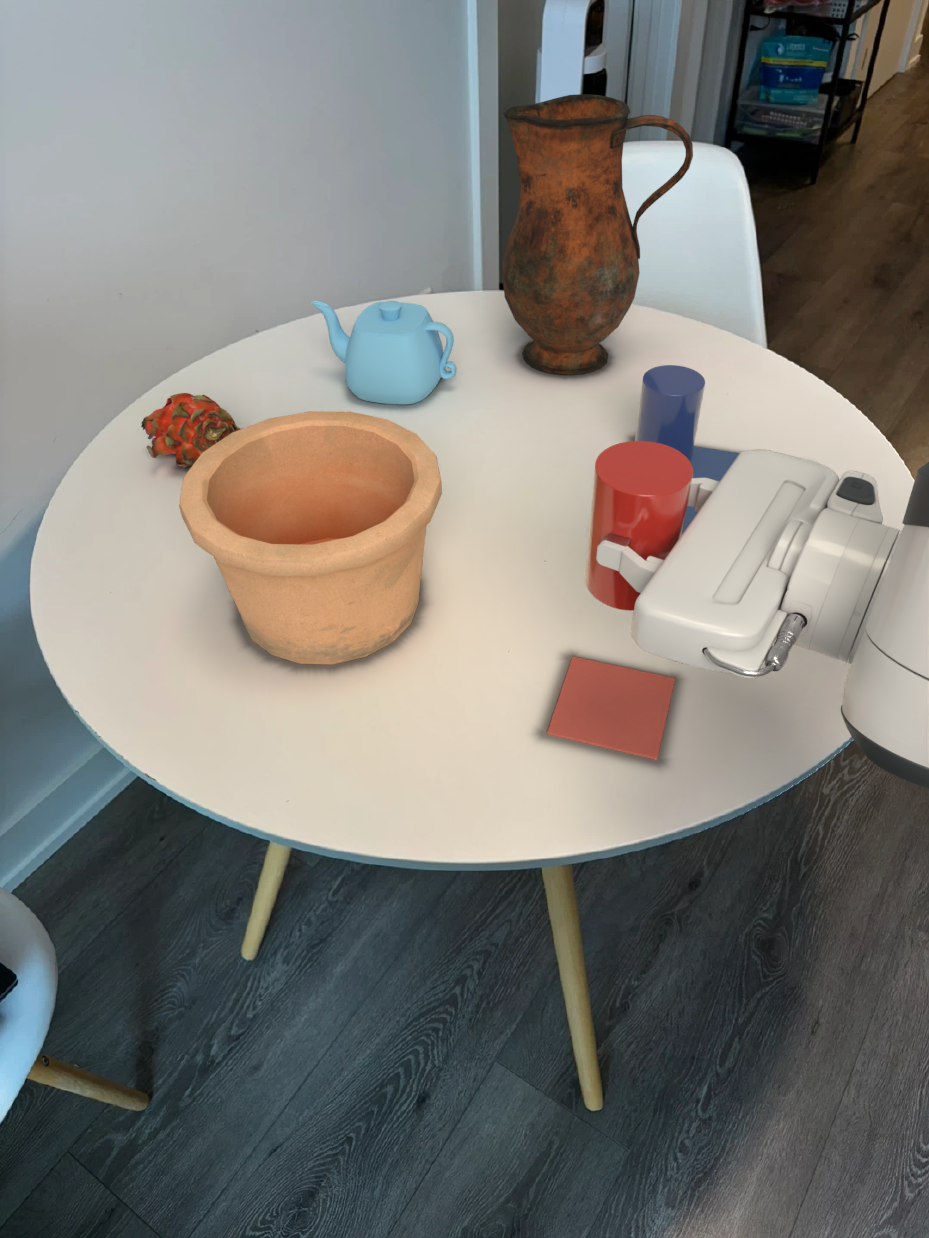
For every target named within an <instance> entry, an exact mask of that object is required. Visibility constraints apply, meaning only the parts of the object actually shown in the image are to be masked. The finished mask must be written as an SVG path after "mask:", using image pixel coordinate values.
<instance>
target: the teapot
mask: <svg viewBox="0 0 929 1238" xmlns="http://www.w3.org/2000/svg"><path fill="white" fill-rule="evenodd" d="M310 303H311V305H312V306H314V307H315V309H317V310H318V311H319V312H320V313H321V314H322V316H323V318H324V320H325V323H326V327H327V331H328V337H329V343H330V346H331V349H332V351H333V353H334V355H335V356H336V357H337V358H338V359H339V360H340V361H341V362H342V363H344V377H345V383H346V385H347V387H348V388H349V390H350V391H351V392H352V393H353V395H354V396H355V397H356V398H358V399H359V400H362V401H367V402H372V403H378V404H385V405H413V404H416V403H419V402H421V401H423V400H424V399H425V398H427V397H428V396H429V395H430V394H431V393H432V392H433V391H434V390H435V388H436V387H437V385H438V384H439V381H440V380H441V378H442V379H444V380H450V379H453V378H454V377H455V376H456V375H457V373H458V372H457V371H458V369H457V365H456V364H455V362H453V361H448V360H449V358H450V355H451V353H452V350H453V347H454V342H455V341H454V340H455V339H454V337H455V336H454V333H453V331H452V330H451V329H450V327H449V326H447V325H446V324H444V323H442V322H439V321H434V320H433V318H432V316H431V314H430V313H429V311H428V309H427V308H426V307H425V306H423V305H422V304H418V303H412V302H401V301H397V300H385V301H377V302H374V303H371V304H370V305H368V306H367V307H366V308H364V309H363V310H362V311H361V312H360V313H359V314H358V316H357V318H356V319H355V322H354V324H353V327H352V330H351V333H350V334H349V335H348V334H347V333H346V332H345V331H344V329H343V327H342V325H341V322H340V319H339V316H338V315H337V313H336V311H335V310H334V308H333V307H332V306H331V305H330V304H328V303H325V302H323V301H319V300H311V301H310ZM439 333H440V334H442V335H443V336H444V337H445V339H446V343H445V347H443V343H442V340H441V336H440V334H439ZM446 368H448V369H450V370H447V369H446Z"/></svg>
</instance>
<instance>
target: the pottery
mask: <svg viewBox="0 0 929 1238" xmlns="http://www.w3.org/2000/svg"><path fill="white" fill-rule="evenodd" d="M442 484H443V483H442V477H441V473H440V468H439V462H438V457H437V455H436V454H435V452H434V451H432V449H431V448H430V447H429V446H428V445H427V444H426V442H425V441H424V440H423V439H422V438H421V437H420V436H419V435H418V434H417V433H416V432H414V431H412V430H410V429H408V428H405V427H403V426H401V425H399V424H397V423H395V422H393V421H391V420H389V419H387V418H382V417H378V416H375V415H374V416H373V415H369V414H363V413H358V412H354V411H323V410H322V411H319V410H318V411H317V410H315V411H313V410H312V411H304V412H299V413H292V414H288V415H282V416H276V417H271V418H270V417H269V418H266V419H265V420H262V421H259V422H257V423H254V424H251V425H248V426H246V427H243V428H240V430H238V431H235V432H233V433H231V434H229V435H228V436H226V437H225V438H224V439H222V440H221V441H219V442H218V443H216V444H215V445H213V446H212V447H210V448H209V449H207V450H206V451H204V452H203V453H202V454H201V455H200V457H199V458H198V459H197V460H196V462H195V463H194V464H192V466H190V468H189V470H188V471H187V472H186V473H185V474H184V476H183V479H182V485H181V491H180V496H179V503H178V508H179V512H180V514H181V518H182V520H183V522H184V524H185V526H186V528H187V531H188V533H189V534H190V536H191V538H192V540H193V542H194V544H195V545H196V546H198V547H199V548H201V549H202V550H204V551H205V552H206V553H208V554H209V555H210V556H211V557H213V558H214V561H215V563H216V565H217V567H218V569H219V572H220V573H221V576H222V578H223V580H224V582H225V585H226V587H227V589H228V591H229V593H230V595H231V597H232V600H233V602H234V603H235V606H236V608H237V611H238V612H239V615H240V618H241V622H242V624H243V626H244V627H245V629H246V632H247V634H248V635H249V637H250V639H251V641H253V642H254V643H255V644H257V645H258V646H259V647H260V648H261V649H263V650H264V651H266V652H267V653H268V654H270V655H271V656H274V657H277V658H280V659H284V660H287V661H291V662H293V663H297V664H300V665H302V664H303V665H336V664H341V663H344V662H349V661H353V660H357V659H362V658H366V657H368V656H369V655H372V654H374V653H375V652H377V651H379V650H381V649H384V648H385V647H387V646H389V645H390V644H392V643H394V642H395V641H396V639H398V637H400V636H401V634H402V633H403V632H404V631H405V630H407V628H408V627H409V626H410V625H411V624H412V622H413V620H414V617H415V614H416V611H417V608H418V606H419V604H420V589H421V581H422V574H423V573H422V571H423V563H424V562H423V561H424V553H425V545H426V534H427V525H429V524H430V523H431V521H432V519H433V517H434V514H435V511H436V509H437V507H438V505H439V502H440V499H441V497H442V495H443V485H442Z"/></svg>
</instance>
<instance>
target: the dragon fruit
mask: <svg viewBox="0 0 929 1238" xmlns="http://www.w3.org/2000/svg"><path fill="white" fill-rule="evenodd" d="M140 425H141V426H140V427H141V428H142V430H143V431H145V434H146V435H147V436H148V437H147V439H148V440H151V446H150V445H146V450H147V451H148V454H149V455H150V457H151V458H153V459H156V458H157V457H159V456H168V455H173V454H174V455H175V464H176V466H177V467H179V468H184V469H186V468H188V467H192V466H193V464H194V463H195V462H196V460H197V459H198V458H199V457H200V455H201V454H202V453H203V452H204V451H206V450H207V449H209V448H210V447H212V446H213V445H215V444H216V443H218V442H219V441H221V440H222V439H224V438H225V437H226V436H228V435H229V434H231V433H233V432H235V431H238V430H240V429H241V428H240V427H239V426H238V425H237V424H236V422H235V420H234V418H233V417H232V415H231V414H230V413H229V412H227V410H226V409H224V408H223V407H221V406H220V404H218V403H217V401H215V400H213V399H212V398H210V397H209V396H208V395H206V394H201V395H200V394H197V395H193V394H192V393H188V392H179V393H175V394H171V395H170V396H169V397H168V398H167V399H166V403H165V405H164V406H162V407H161V408H158V409H155V410H153V412H152V413H151V414H149V415H146V416H145V417H144V418H143V419H142V422H141V424H140ZM136 432H137V433H138V430H137V431H136Z"/></svg>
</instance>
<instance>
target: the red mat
mask: <svg viewBox="0 0 929 1238" xmlns="http://www.w3.org/2000/svg"><path fill="white" fill-rule="evenodd" d="M675 682H676V678H675V677H671V676H667V675H663V674H658V673H653V672H648V671H643V670H639V669H634V668H630V667H624V666H621V665H620V666H619V665H617V664H611V663H606V662H601V661H598V660H593V659H588V658H582V657H578V656H575V655H574V656H572V657H571V660H570V663H569V665H568V669H567V672H566V675H565V677H564V681H563V683H562V686H561V689H560V692H559V696H558V699H557V701H556V704H555V706H554V709H553V710H554V711H553V714H552V716H551V719H550V722H549V726H548V729H547V731H546V734H547V735H549V736H554V737H557V738H562V739H567V740H571V741H576V742H579V743H583V744H588V745H591V746H595V747H600V748H603V749H609V750H613V751H616V752H620V753H621V752H622V753H626V754H630V755H634V756H639V757H641V758H642V757H643V758H647V759H650V760H651V759H652V760H656V761H658V759H659V754H660V750H661V746H662V741H663V736H664V732H665V727H666V722H667V717H668V713H669V709H670V705H671V700H672V695H673V690H674V686H675Z"/></svg>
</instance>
